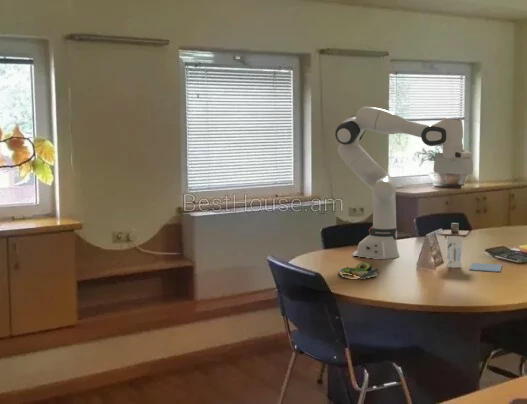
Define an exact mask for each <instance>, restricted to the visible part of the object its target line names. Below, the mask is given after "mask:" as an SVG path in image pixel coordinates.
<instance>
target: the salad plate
mask: <svg viewBox="0 0 527 404" xmlns="http://www.w3.org/2000/svg"><path fill="white" fill-rule="evenodd" d="M378 271H379V268H375V269H374V268H373V267H372V264H371V263H370V262H361V263H358V264H357V265H356V266H355V267H348V266H346V267H342V268H339V270H338V272H339V273H338V275H339V274H340V272H342V273H349V274H352V275H356V276H359V277H360V278H362V279H363V280H365V279H364V278H368V277H374V278H376V277H377V276H378V273H377V272H378ZM340 275H341V274H340ZM340 275H339V276H340ZM341 276H344V277H350V276H349V275H341ZM341 276H340V277H341ZM375 276H376V277H375Z"/></svg>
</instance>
